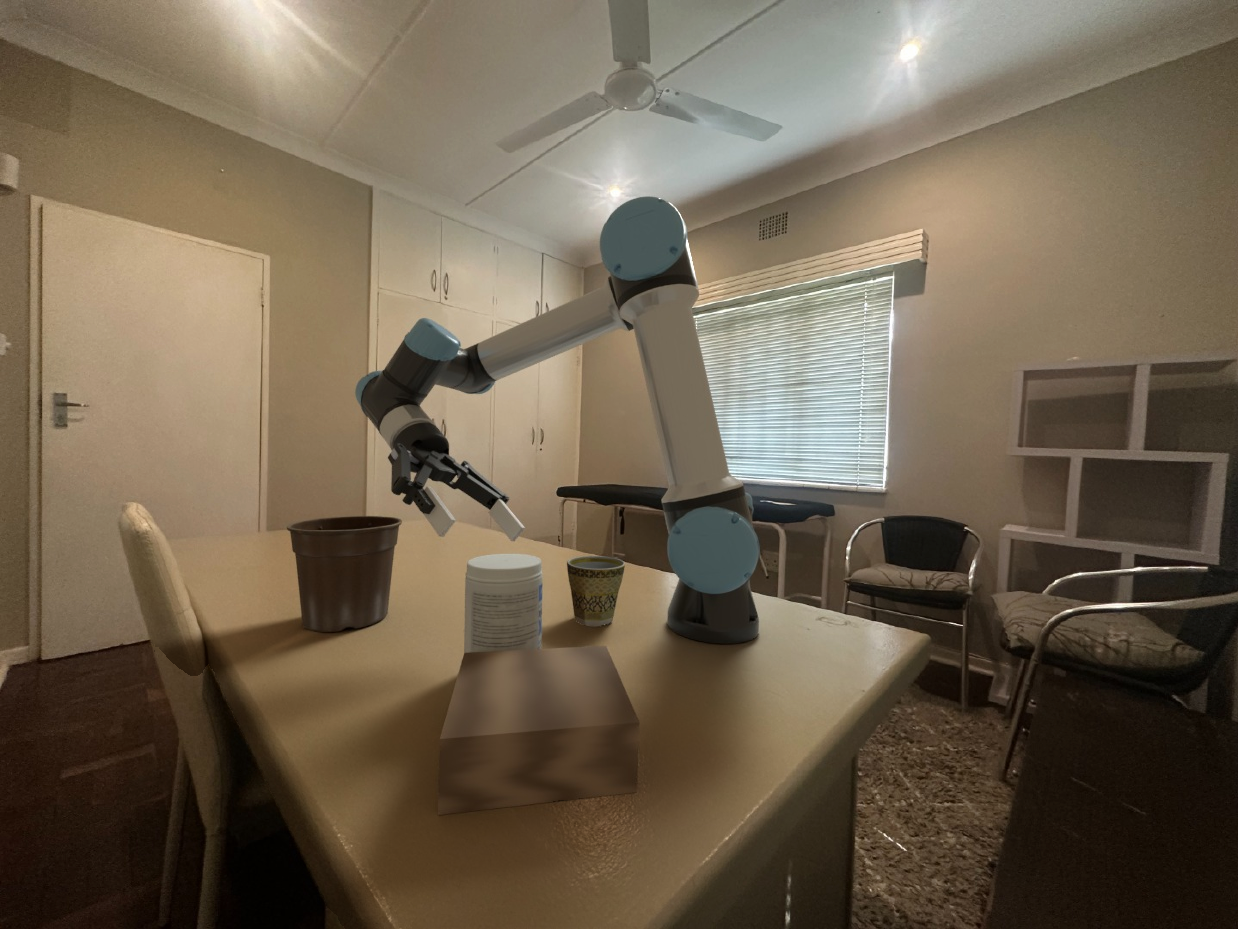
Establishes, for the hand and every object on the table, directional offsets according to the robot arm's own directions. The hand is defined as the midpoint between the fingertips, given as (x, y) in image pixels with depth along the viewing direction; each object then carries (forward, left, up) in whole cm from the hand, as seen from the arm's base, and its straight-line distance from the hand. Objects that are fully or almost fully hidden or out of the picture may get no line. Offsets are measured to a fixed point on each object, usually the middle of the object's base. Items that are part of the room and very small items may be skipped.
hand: (486, 532), depth 64 cm
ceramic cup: (-18, -15, -18) cm, 29 cm away
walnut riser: (-7, +20, -18) cm, 27 cm away
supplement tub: (-3, +5, -18) cm, 19 cm away
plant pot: (+23, -18, -18) cm, 34 cm away
